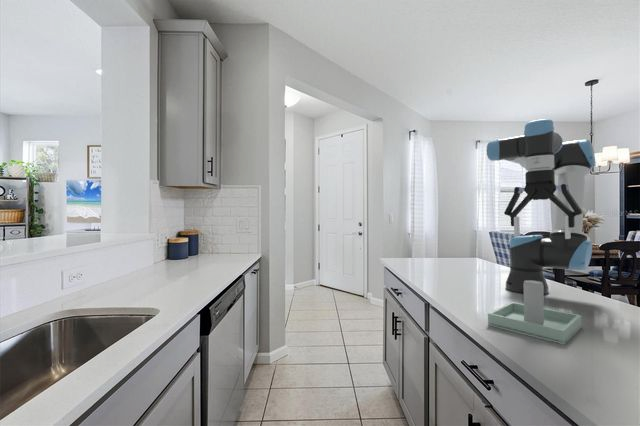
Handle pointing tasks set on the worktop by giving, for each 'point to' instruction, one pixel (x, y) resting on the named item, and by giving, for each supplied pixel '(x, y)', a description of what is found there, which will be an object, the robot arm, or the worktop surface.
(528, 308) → the beverage can
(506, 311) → the tray
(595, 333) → the worktop surface
